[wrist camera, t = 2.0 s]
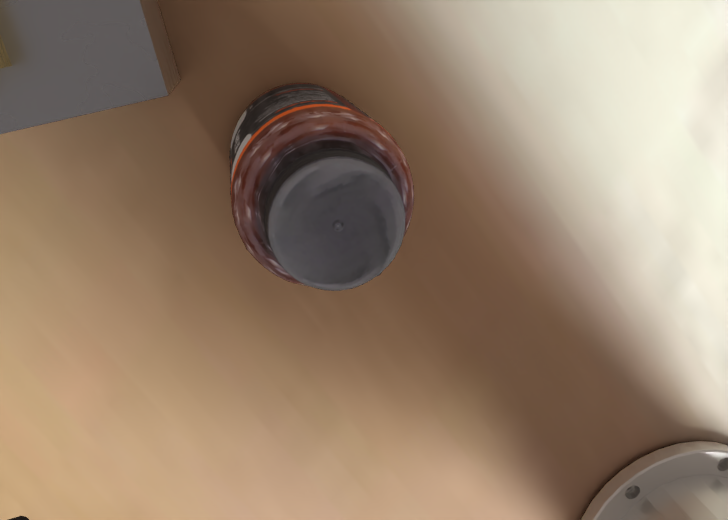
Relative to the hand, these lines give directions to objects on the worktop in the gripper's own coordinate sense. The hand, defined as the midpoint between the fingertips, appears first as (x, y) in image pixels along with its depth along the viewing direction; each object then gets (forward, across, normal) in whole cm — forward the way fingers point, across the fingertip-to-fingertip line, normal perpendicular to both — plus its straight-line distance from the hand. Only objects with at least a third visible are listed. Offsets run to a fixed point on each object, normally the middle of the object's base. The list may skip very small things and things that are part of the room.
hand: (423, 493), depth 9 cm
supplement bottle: (+23, -1, 0) cm, 23 cm away
